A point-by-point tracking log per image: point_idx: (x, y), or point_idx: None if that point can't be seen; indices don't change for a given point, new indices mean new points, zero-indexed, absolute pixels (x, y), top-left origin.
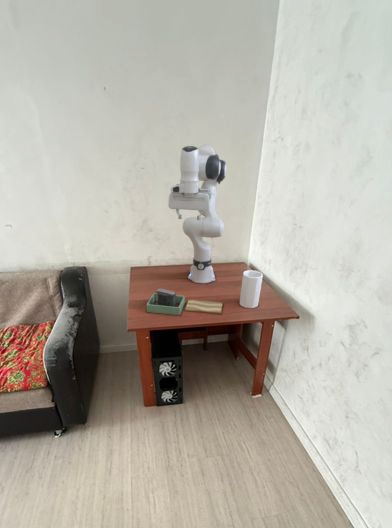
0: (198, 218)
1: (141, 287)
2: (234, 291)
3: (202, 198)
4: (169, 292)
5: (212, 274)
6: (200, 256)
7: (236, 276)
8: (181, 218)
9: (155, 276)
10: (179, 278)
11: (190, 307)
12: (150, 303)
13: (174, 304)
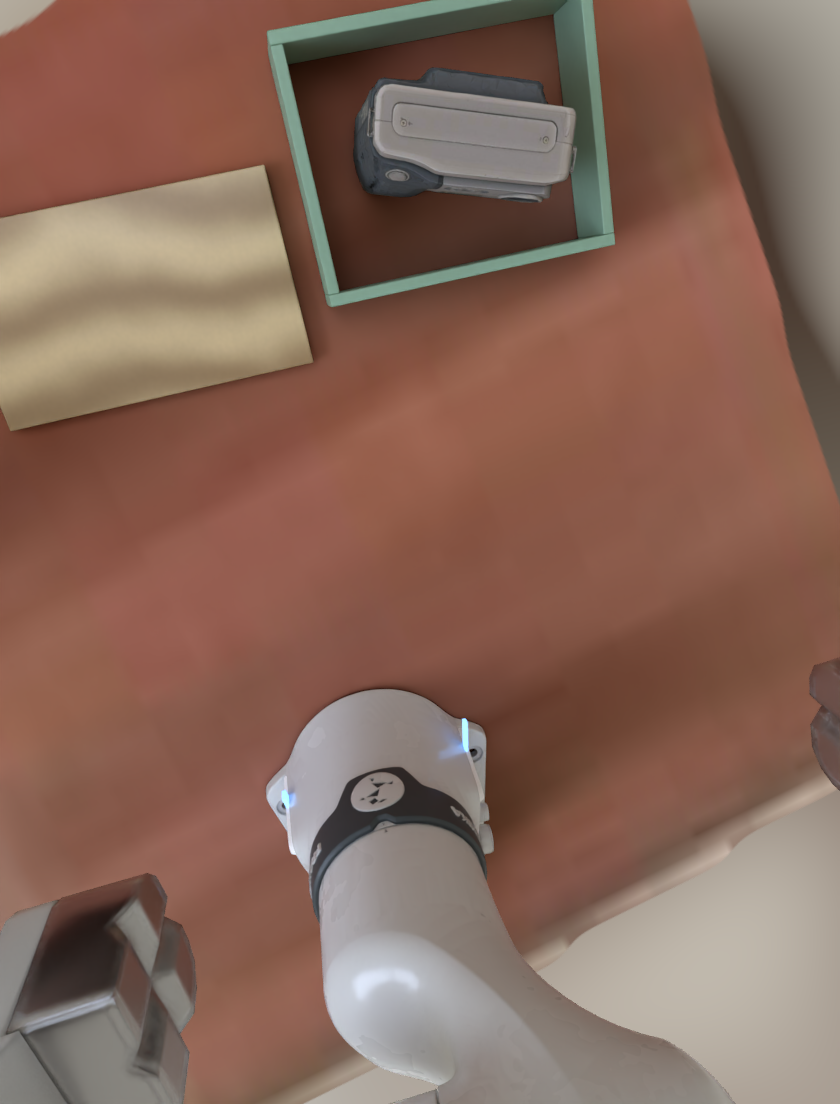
0: (54, 931)
1: (760, 426)
2: (33, 690)
3: None
4: (428, 109)
5: (286, 809)
6: (399, 863)
7: None
8: (814, 742)
9: (724, 648)
10: (542, 700)
11: (232, 215)
12: (576, 88)
13: (358, 127)
